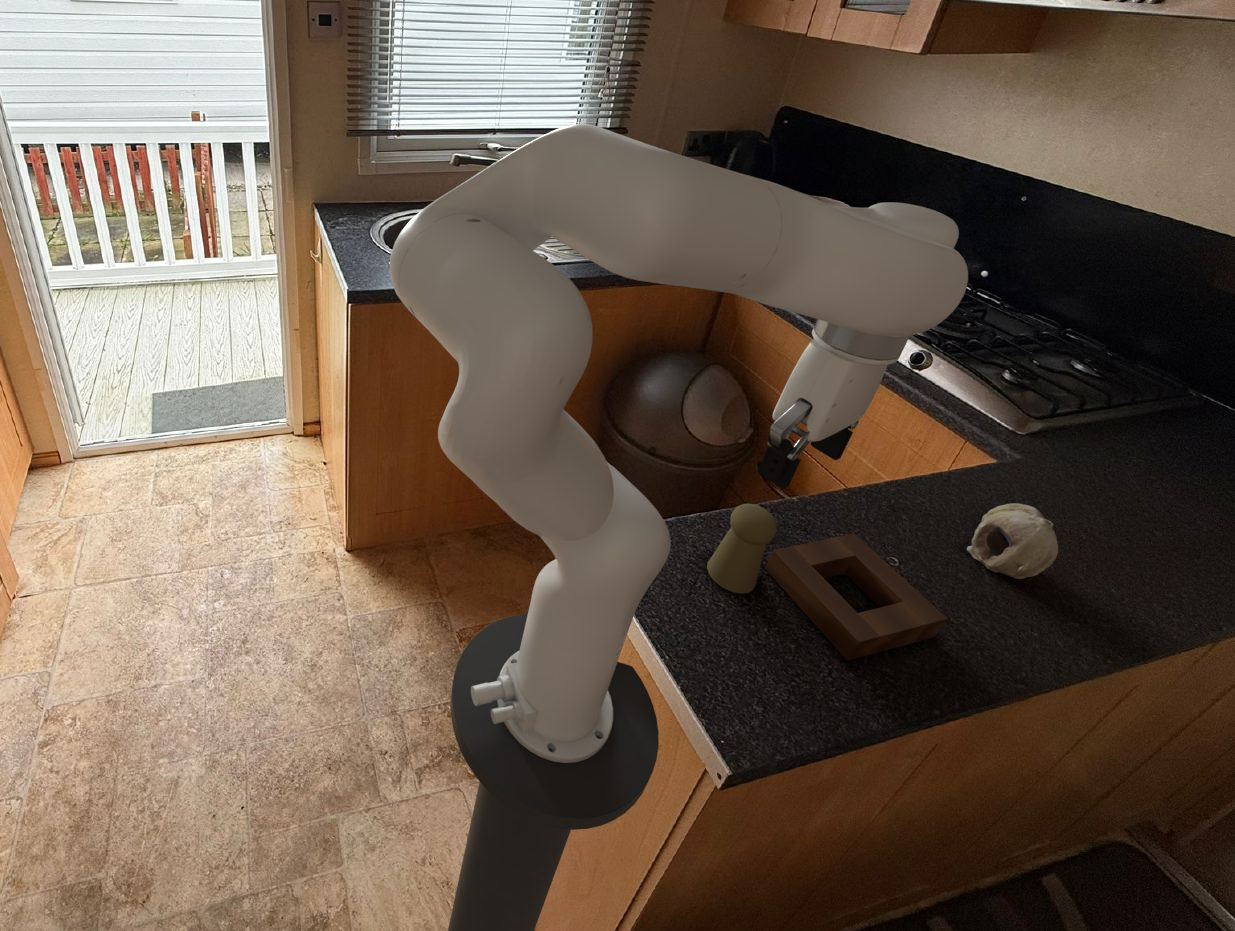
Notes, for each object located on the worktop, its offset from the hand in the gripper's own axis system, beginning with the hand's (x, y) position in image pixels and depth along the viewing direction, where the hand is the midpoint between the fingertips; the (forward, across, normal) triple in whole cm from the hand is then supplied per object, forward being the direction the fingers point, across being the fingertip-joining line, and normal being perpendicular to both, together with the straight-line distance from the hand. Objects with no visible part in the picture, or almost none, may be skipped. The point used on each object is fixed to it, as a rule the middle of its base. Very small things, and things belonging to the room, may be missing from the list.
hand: (799, 465), depth 73 cm
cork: (+23, -3, -3) cm, 23 cm away
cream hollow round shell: (+23, -39, +14) cm, 47 cm away
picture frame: (+23, -13, +7) cm, 27 cm away
